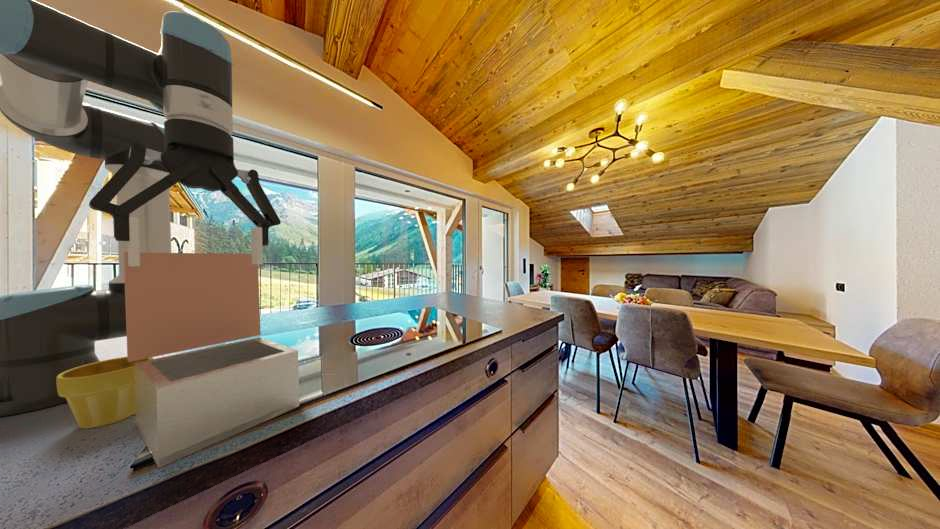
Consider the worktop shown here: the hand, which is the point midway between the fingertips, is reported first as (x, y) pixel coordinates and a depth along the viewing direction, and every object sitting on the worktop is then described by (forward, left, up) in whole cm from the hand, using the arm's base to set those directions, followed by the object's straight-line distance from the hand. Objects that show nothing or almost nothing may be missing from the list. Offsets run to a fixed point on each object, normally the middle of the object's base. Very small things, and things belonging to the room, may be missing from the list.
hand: (204, 265), depth 41 cm
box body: (-7, +4, -28) cm, 29 cm away
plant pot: (-24, -7, -28) cm, 38 cm away
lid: (-17, +4, -7) cm, 19 cm away
